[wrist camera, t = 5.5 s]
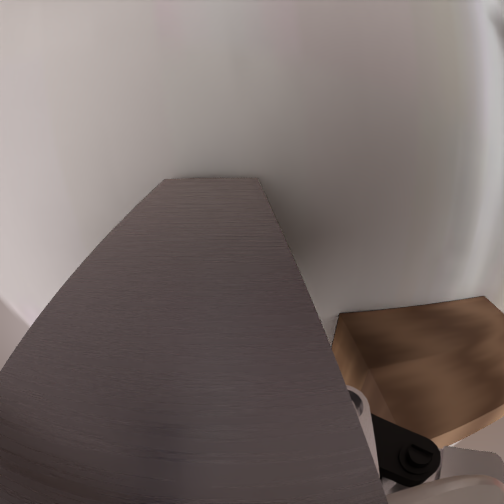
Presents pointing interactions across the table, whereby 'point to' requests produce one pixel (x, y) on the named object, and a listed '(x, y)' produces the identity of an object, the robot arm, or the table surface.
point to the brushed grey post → (183, 369)
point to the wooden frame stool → (427, 365)
